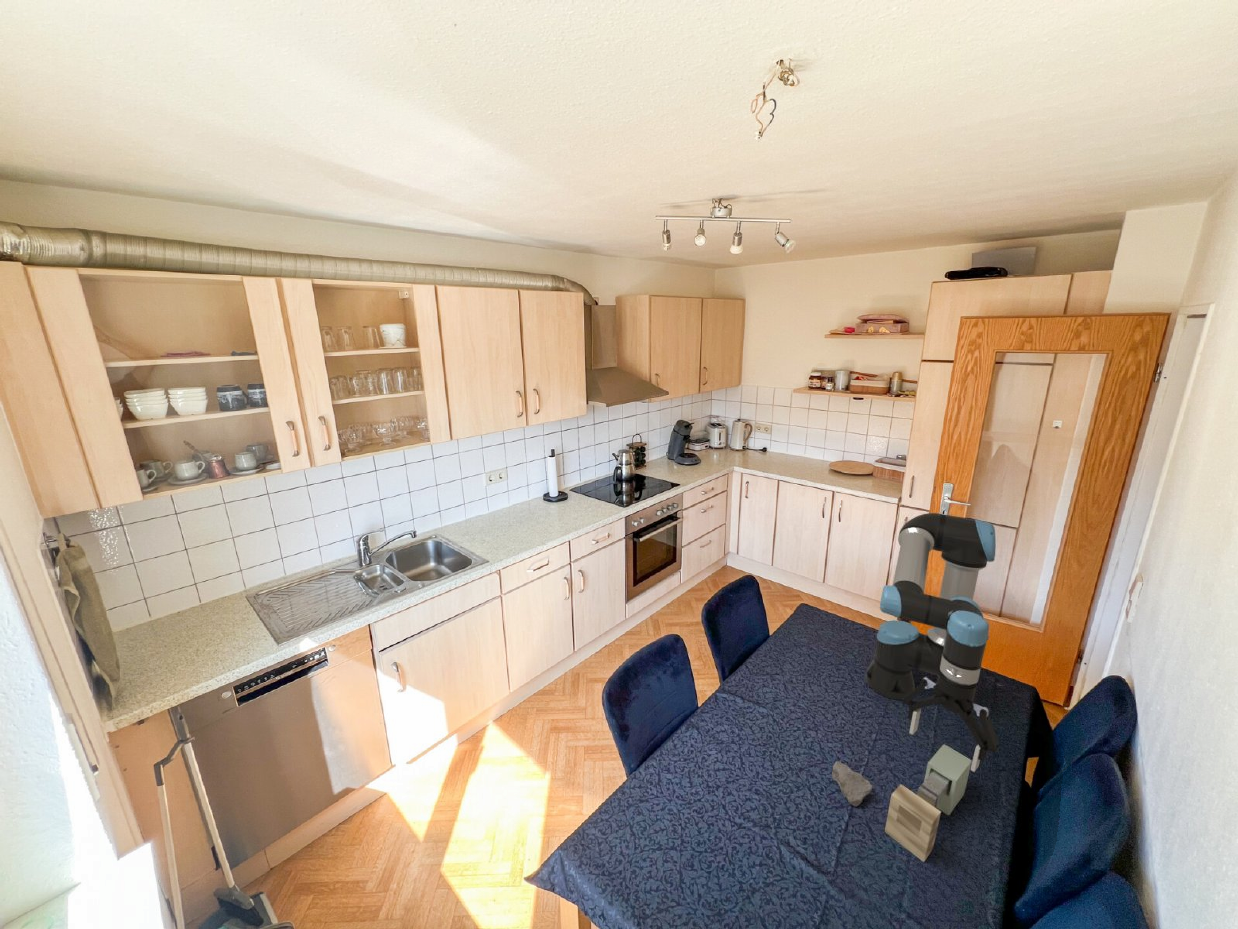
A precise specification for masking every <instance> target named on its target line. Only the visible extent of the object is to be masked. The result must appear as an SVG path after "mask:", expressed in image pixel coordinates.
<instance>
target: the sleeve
mask: <svg viewBox="0 0 1238 929" xmlns="http://www.w3.org/2000/svg"><path fill="white" fill-rule="evenodd" d="M972 761H973V759H970V758H968V757H967V756H965V755H963V754H961V753H960V752H958V751H956V750H954V749H953V748H951V747H950V746H948V745H946V744H942V746H941V747H940V748H939V749H938V750H937V751H936V753H935V754H934V755H933V756H932V757H931V758H930V760H929V761H928V762H927V765H926V770H925V776H924V780H923V782H924V781H925V780H926V779H927V777H928V776H929V775H930V774H931V772H932V771H933V770H936V771H937V772H939V773H940V774H942V775H943V776H945V777H947V778H948V779H950V780H951V781H952V785H951V788H950V789H949V791H948V792H947V793H946V795H945V796H944V797H943V799H942V800H941V801H940V803H939V804H938V805H937V807H936V809H938V810H939V811H941V813H944V814H945V815H947V816H950V815H951V814H952V812H953V810H954V809H955V807H956V806H957V805H958V804H959V802H960V801H961V799H962V798H963V797H964V795H965V792H966V788H967V783H968V779H969V774H970V772H971V765H972Z"/></svg>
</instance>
